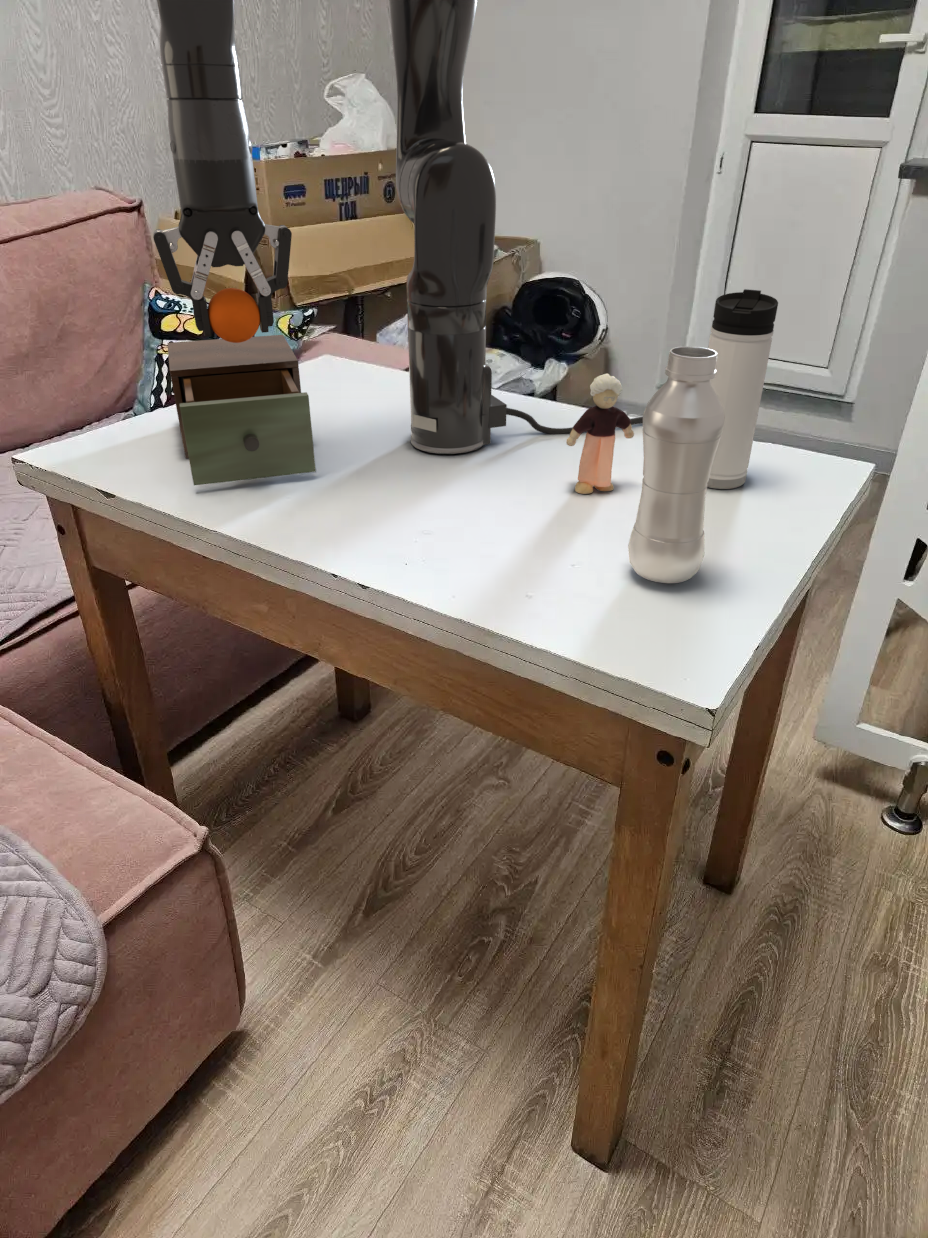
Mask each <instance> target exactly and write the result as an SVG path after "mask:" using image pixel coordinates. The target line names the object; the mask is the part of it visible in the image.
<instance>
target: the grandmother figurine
mask: <svg viewBox="0 0 928 1238" xmlns="http://www.w3.org/2000/svg"><path fill="white" fill-rule="evenodd" d="M589 389H590V392H589V394H590V396H591V397H592V399H593V403H594V406H592V407H588V408H587V409H586V410H585V411H584V412H583V414H582V415H581V416H580V417H579V418H578V420H577V421H576V422H575V423H574V425H573V426H572V427H573V429H572V431H571V433H570V434H569V436H568V437H567V438H566V441H565V442H566V445H567V446H568V447H574V446H575V445H576V443H577V440H578V439H579V438H580V436H581V434H583V433H586V434H585V437H584V442H583V446H582V451H581V455H580V459H579V465H578V473H577V482H576V483H575V485H574V490H575V492H576V493H578V494H582V495H588V494H592V493H593V492H594V488H595V489H596V490H598V491H600V492H610V491H613V490H614V484H613V483H612V473H613V461H614V454H615V453H614V451H615V445H616V444H615V443H616V427H617V428H618V429H620V430H622V432H623V435H624V437H625V438H626V439H633V438H634V436H635V432H634V430H633V427H632V426H633V425H631V420H630V419H631V418H630V417H629V416H628V414H627V413H626V412H625V411H624V410H622V409H621V408H618V407H616V406H615V405H616V403H617V400H618V398H619V396H621V392H623V386H622V384H621V381H620V380H619V379H618V378H616V377H615V376H614V375H610V374H609V373H604V374H602V375H598V376H596V377H594V379H593V381H592V382H591V384H590V385H589ZM585 431H587V432H585Z"/></svg>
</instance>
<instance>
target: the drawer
mask: <svg viewBox="0 0 928 1238" xmlns="http://www.w3.org/2000/svg"><path fill="white" fill-rule="evenodd" d="M183 381H184V389H185V396H186V403H180V411H181V417H182V422H183V428H184V433H185V439H186V445H187V450H188V456H189V458H188V461H189V465H190V466H189V467H190V473H191V477H192V484H193V486H202V485H211V484H218V483H219V484H221V483H229V482H237V481H238V482H239V481H247V480H254V479H255V480H256V479H263V478H265V479H266V478H273V477H282V476H289V475H290V476H291V475H298V474H306V473H307V474H308V473H316V471H317V469H316V460H315V450H314V437H313V428H312V418H311V407H310V397H309V394H308V392H307V391H305V392H301V393H299V391H298V389H297V387H296V385H295V383H294V381H293V380H292V378H291V376H290V374H289V372H288V370H287V368H281V369H269V370H257V371H244V372H232V373H220V374H207V375H195V376H183Z"/></svg>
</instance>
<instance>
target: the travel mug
mask: <svg viewBox="0 0 928 1238" xmlns="http://www.w3.org/2000/svg"><path fill="white" fill-rule="evenodd" d="M715 299H716V300H715V303H714V310H713V320H712V324H711V326H710V332H711V333H710V335H709V341H708V347H707V349H711V350H714V351H716V352H717V361H716V367H715V370H716V375H715V378H713V379H711V386H712V388H713V389H714V391H715V393H716V395H717V396H718V398H719V401H720V403H721V405H722V408H723V412H724V419H725V422H724V426H723V430H722V433H721V437H720V440H719V444H718V447H717V450H716V453H715V456H714V460H713V463H712V467H711V472H710V476H709V481H708V482H707V484H708V486H707V488H708V489H709V488H710V489H717V490H731V489H736V488H739V487H741V486H742V485H744V484H745V483H746V482H747V481H746V480H747V474H748V469H749V464H750V460H751V459H750V458H751V452H752V448H753V443H754V437H755V433H756V427H757V422H758V416H759V410H760V407H761V406H760V405H761V401H762V395H763V389H764V385H765V384H764V383H765V378H766V373H767V369H768V363H769V357H770V352H771V348H772V341H773V336H774V333H775V332H774V331H775V330H774V328H775V321H776V317H777V313H778V306H779V301H778V299H776V298H775V297H773V296H771V295H769V294H764V293H762V290H760V289H748V288H747V289H746V288H744V289H743V291H742V292H741V291H739V292H737V291H736V292H730V293H725V294H722V295H720V296H718V297H717V298H715Z"/></svg>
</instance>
